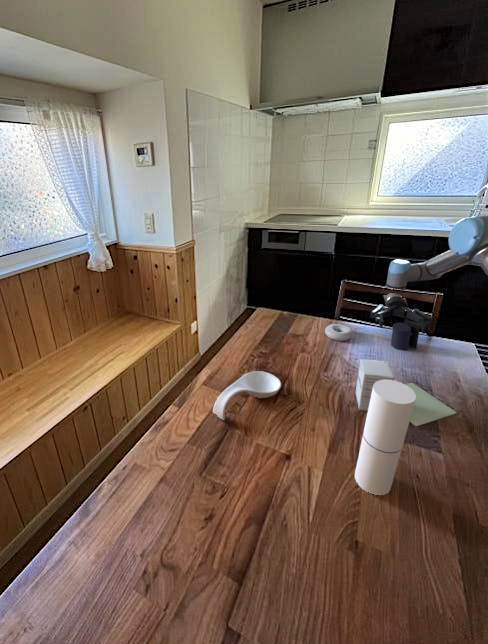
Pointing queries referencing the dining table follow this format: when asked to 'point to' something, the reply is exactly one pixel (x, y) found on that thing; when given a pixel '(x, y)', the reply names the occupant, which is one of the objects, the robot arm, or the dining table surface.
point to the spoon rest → (248, 389)
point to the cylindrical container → (384, 435)
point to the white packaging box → (370, 379)
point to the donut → (338, 332)
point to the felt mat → (427, 407)
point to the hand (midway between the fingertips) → (402, 327)
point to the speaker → (405, 335)
